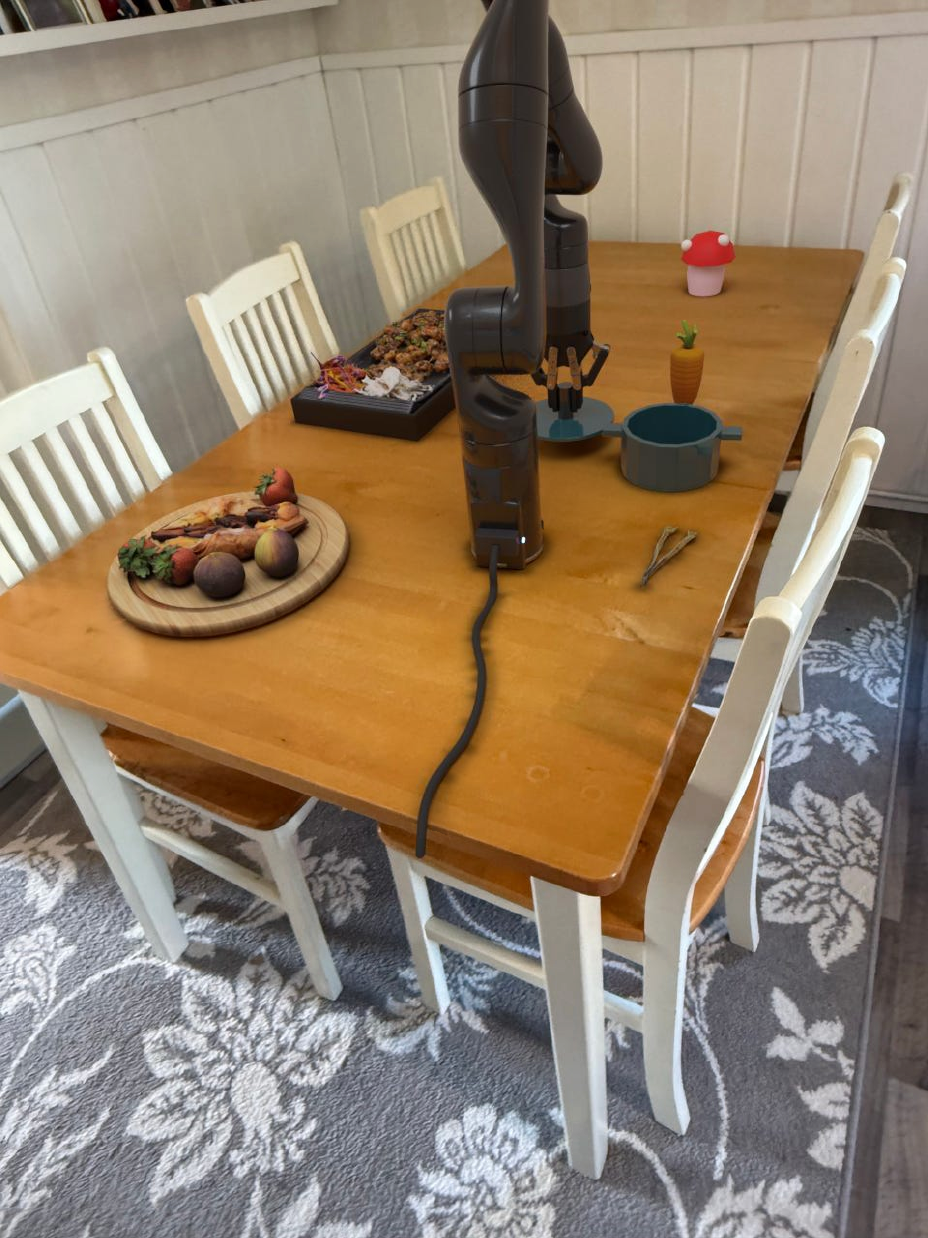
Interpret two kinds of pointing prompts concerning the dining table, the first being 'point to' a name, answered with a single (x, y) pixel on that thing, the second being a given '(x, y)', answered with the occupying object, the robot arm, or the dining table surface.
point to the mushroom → (707, 261)
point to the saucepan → (671, 446)
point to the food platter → (385, 383)
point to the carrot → (686, 367)
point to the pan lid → (571, 417)
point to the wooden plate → (229, 561)
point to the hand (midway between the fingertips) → (565, 409)
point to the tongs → (679, 546)
